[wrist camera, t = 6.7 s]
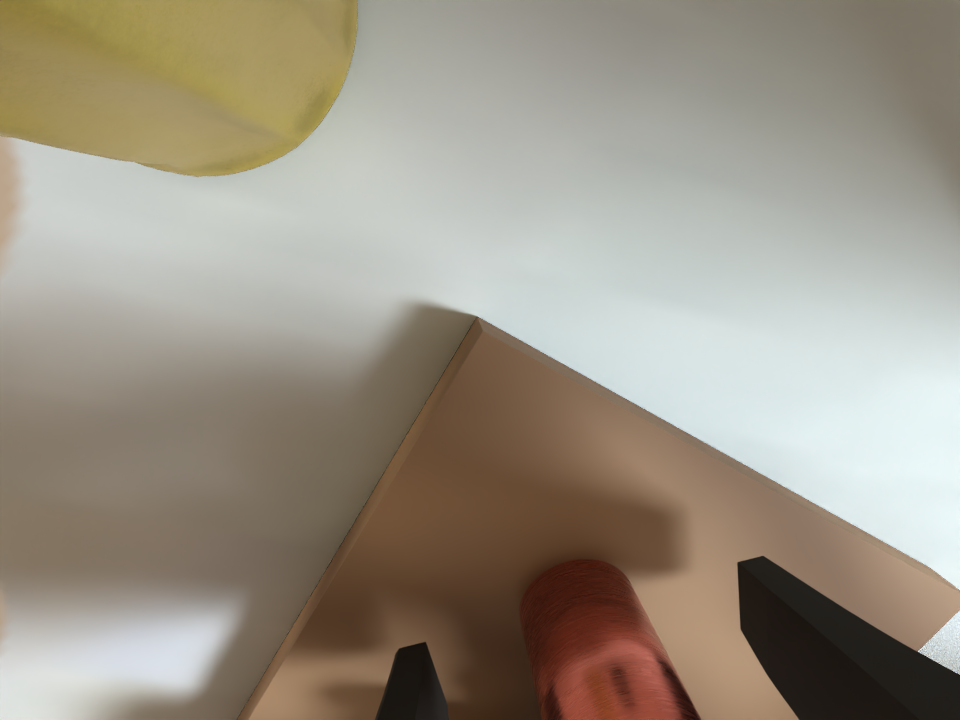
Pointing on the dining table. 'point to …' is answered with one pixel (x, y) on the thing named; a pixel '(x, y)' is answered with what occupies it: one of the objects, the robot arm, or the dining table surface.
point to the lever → (597, 648)
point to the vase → (173, 77)
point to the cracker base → (566, 549)
